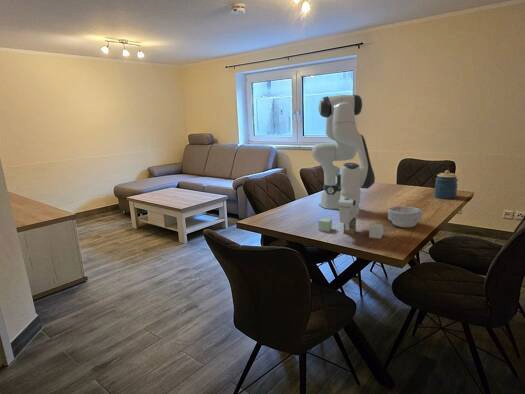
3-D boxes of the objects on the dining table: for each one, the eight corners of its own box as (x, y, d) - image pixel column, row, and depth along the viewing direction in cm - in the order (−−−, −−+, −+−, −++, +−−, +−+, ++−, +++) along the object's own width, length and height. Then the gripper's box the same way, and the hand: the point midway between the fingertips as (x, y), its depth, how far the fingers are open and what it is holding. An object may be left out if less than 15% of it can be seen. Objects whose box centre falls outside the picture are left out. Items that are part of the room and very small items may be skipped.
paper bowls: (393, 218, 177) (394, 204, 175) (424, 223, 167) (425, 208, 165) (383, 226, 165) (383, 210, 163) (415, 231, 156) (416, 215, 154)
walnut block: (346, 230, 161) (346, 216, 159) (355, 232, 159) (356, 217, 157) (343, 233, 157) (343, 219, 155) (353, 234, 155) (353, 220, 153)
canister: (456, 200, 210) (458, 172, 206) (432, 198, 216) (435, 171, 212) (457, 195, 220) (459, 169, 216) (434, 194, 227) (436, 168, 223)
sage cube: (322, 227, 167) (322, 218, 166) (331, 228, 165) (331, 219, 163) (318, 230, 163) (318, 220, 162) (328, 231, 160) (328, 222, 159)
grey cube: (371, 234, 155) (371, 223, 154) (382, 235, 153) (383, 224, 152) (369, 237, 151) (369, 226, 150) (380, 238, 149) (381, 228, 148)
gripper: (349, 193, 164) (349, 220, 168) (336, 203, 147) (336, 233, 150) (362, 194, 161) (361, 222, 164) (351, 204, 144) (350, 234, 147)
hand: (349, 227), depth 157 cm, fingers open, 6 cm apart
